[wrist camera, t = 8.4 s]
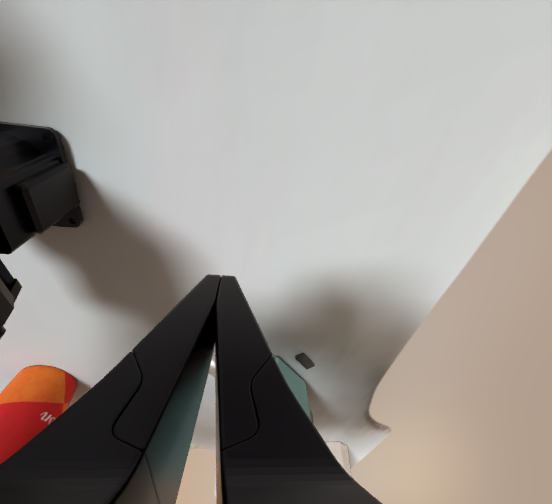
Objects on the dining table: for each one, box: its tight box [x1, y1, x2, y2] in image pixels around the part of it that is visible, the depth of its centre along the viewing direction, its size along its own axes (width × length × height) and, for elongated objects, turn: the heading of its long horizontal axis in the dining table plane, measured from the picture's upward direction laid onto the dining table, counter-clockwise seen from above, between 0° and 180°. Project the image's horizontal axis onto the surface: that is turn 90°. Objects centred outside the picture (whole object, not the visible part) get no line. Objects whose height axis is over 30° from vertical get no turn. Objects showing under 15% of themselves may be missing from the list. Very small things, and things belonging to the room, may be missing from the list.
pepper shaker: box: [325, 442, 351, 476], centre depth 39 cm, size 5×5×11 cm
